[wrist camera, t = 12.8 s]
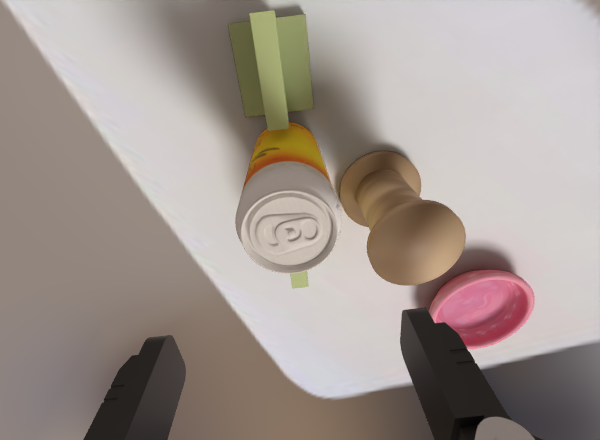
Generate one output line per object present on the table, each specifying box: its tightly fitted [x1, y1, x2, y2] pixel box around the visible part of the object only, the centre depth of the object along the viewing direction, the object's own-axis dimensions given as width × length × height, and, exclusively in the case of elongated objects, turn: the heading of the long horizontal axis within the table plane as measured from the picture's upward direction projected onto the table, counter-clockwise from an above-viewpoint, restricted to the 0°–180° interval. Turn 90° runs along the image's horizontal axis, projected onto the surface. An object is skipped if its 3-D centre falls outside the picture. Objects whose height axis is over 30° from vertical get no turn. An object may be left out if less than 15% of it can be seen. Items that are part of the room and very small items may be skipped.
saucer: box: [429, 270, 534, 349], centre depth 39 cm, size 12×12×3 cm
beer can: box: [236, 122, 342, 274], centre depth 24 cm, size 6×6×15 cm
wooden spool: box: [340, 151, 466, 285], centre depth 28 cm, size 8×8×11 cm
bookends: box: [228, 10, 313, 288], centre depth 27 cm, size 6×22×7 cm, turn 6°
